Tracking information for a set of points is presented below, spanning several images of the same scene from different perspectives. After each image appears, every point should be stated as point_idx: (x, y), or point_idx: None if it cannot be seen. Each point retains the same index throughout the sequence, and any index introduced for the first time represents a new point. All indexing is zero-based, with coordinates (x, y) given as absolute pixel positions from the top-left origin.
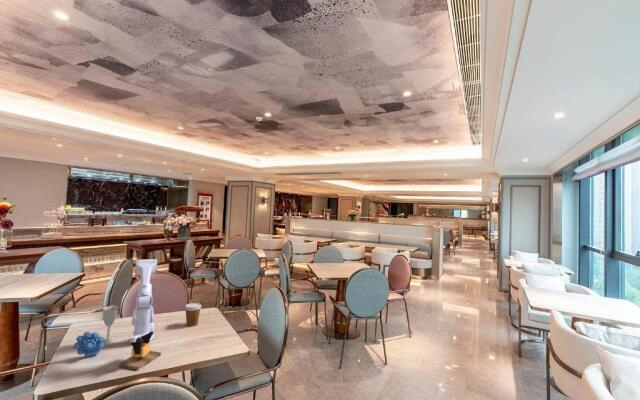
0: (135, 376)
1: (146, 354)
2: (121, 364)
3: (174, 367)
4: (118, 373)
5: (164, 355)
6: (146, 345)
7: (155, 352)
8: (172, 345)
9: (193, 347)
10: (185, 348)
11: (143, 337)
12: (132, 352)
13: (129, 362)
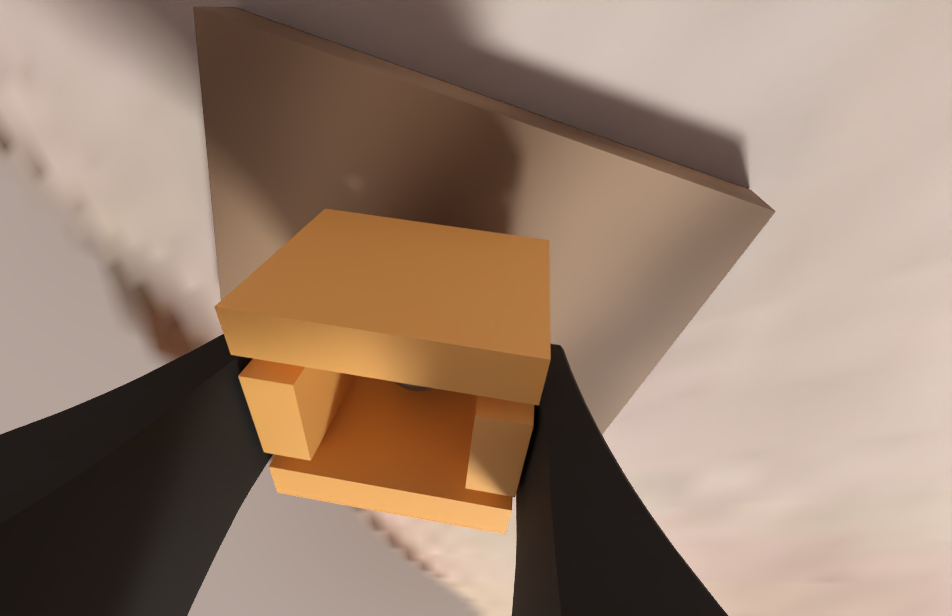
0: (156, 330)
1: (551, 323)
2: (202, 74)
3: (367, 520)
4: (107, 120)
5: None
6: (404, 509)
7: (597, 405)
8: (860, 470)
9: (710, 587)
10: (710, 552)
11: (536, 613)
12: (285, 258)
13: (285, 187)
